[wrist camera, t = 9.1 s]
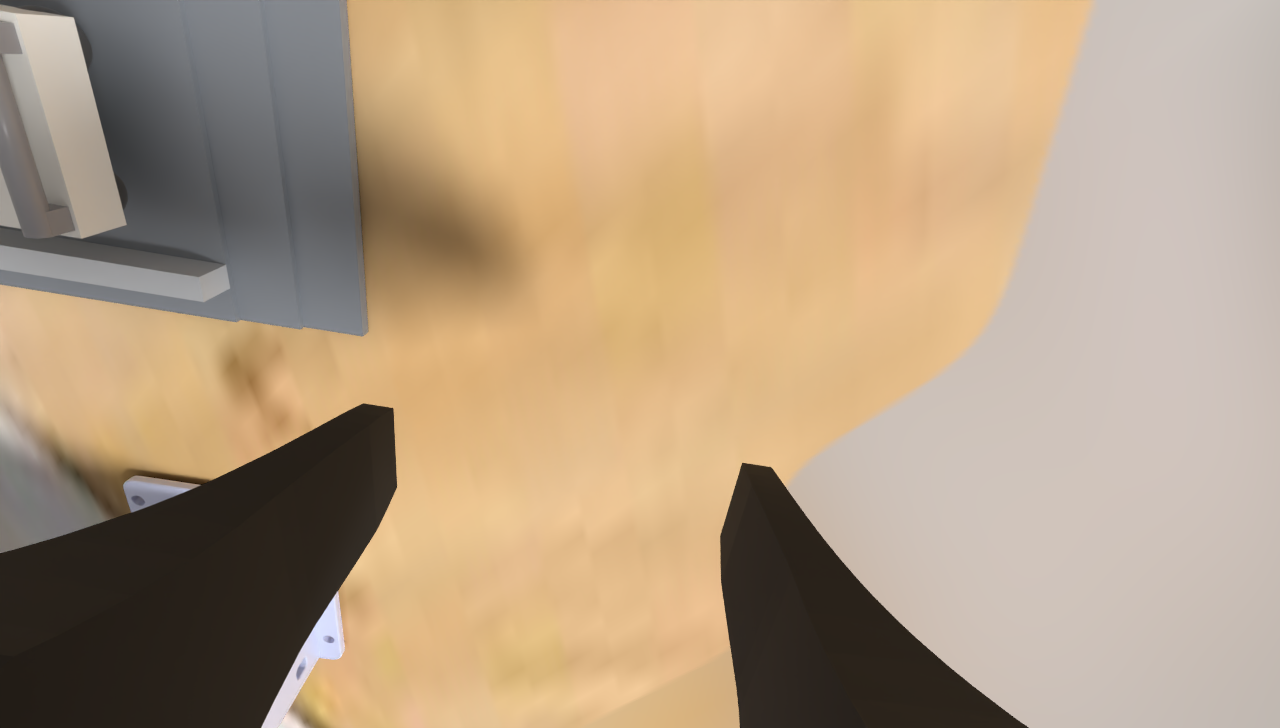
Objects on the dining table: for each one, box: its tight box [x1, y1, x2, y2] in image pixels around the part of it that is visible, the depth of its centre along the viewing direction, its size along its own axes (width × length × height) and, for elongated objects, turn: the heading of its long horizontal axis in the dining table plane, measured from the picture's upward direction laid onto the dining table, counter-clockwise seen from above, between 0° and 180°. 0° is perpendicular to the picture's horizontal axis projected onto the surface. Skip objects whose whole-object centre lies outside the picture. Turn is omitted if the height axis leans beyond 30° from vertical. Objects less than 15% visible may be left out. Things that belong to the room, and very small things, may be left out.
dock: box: [0, 0, 368, 336], centre depth 16 cm, size 12×16×2 cm
